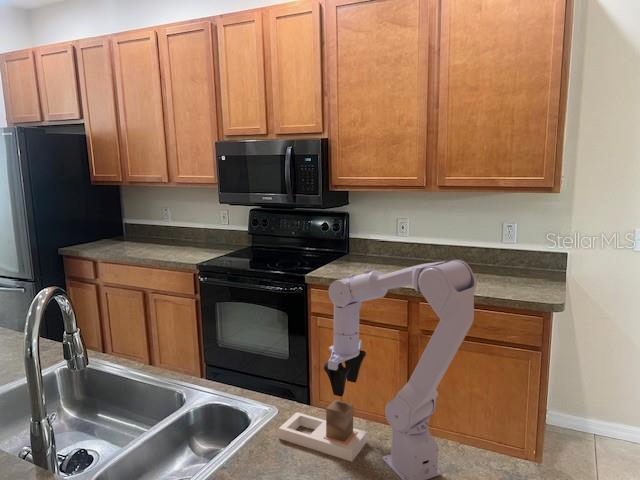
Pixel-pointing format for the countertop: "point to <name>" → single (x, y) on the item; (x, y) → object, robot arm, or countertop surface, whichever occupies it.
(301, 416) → the socket block
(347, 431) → the plug
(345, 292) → the robot arm
